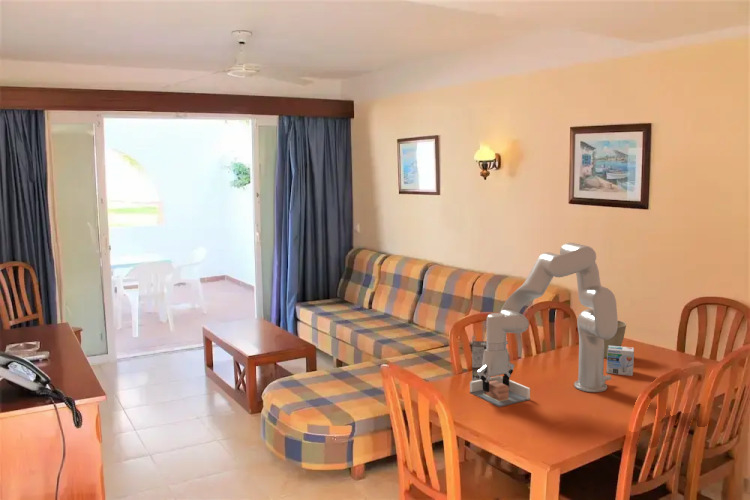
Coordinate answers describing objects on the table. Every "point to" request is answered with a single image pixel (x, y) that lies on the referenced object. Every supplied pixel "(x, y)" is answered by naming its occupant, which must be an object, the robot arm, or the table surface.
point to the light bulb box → (620, 360)
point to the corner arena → (515, 392)
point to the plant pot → (615, 338)
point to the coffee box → (477, 358)
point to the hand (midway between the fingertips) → (496, 388)
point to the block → (498, 390)
